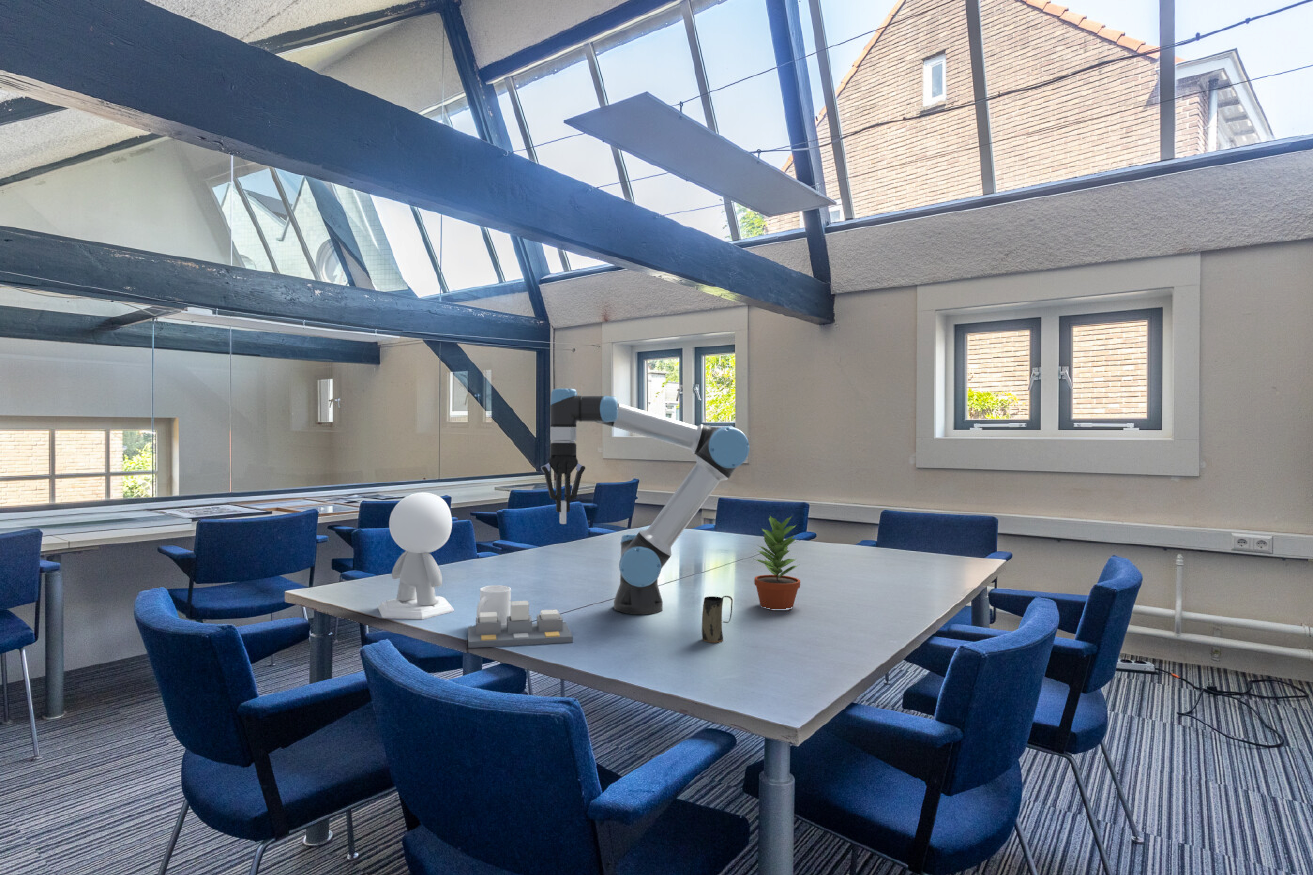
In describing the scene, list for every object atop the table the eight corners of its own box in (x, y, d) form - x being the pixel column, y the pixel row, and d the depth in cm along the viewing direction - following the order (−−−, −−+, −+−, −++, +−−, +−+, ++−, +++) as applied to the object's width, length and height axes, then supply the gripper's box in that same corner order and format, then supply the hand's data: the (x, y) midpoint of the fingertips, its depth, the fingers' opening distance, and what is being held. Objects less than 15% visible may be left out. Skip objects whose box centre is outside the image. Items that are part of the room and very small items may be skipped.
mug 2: (699, 641, 181) (700, 596, 181) (704, 636, 187) (705, 591, 187) (728, 645, 179) (729, 599, 179) (733, 639, 184) (734, 594, 184)
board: (565, 627, 191) (565, 611, 191) (572, 642, 178) (573, 624, 178) (468, 632, 185) (468, 615, 185) (468, 647, 171) (468, 629, 171)
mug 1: (489, 635, 183) (490, 596, 183) (464, 630, 186) (465, 592, 186) (515, 624, 194) (516, 587, 194) (491, 620, 197) (492, 584, 197)
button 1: (556, 624, 188) (557, 609, 188) (558, 628, 183) (559, 613, 183) (540, 625, 186) (540, 610, 186) (542, 629, 182) (542, 614, 182)
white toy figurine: (468, 607, 210) (471, 492, 210) (405, 624, 191) (408, 497, 191) (425, 598, 221) (427, 488, 221) (360, 612, 202) (363, 492, 202)
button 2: (527, 615, 185) (527, 600, 185) (528, 619, 181) (528, 604, 181) (510, 616, 184) (510, 601, 184) (511, 620, 180) (511, 605, 180)
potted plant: (751, 600, 229) (753, 509, 229) (798, 602, 227) (800, 511, 227) (751, 611, 215) (753, 514, 215) (801, 614, 213) (803, 516, 213)
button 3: (496, 627, 183) (496, 611, 183) (497, 631, 179) (497, 616, 179) (479, 627, 182) (479, 612, 182) (479, 632, 178) (479, 617, 178)
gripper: (582, 442, 206) (582, 521, 206) (538, 441, 202) (538, 522, 202) (588, 442, 199) (587, 524, 199) (542, 442, 195) (542, 525, 195)
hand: (562, 523), depth 200 cm, fingers closed
